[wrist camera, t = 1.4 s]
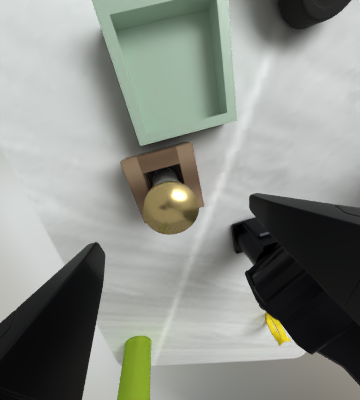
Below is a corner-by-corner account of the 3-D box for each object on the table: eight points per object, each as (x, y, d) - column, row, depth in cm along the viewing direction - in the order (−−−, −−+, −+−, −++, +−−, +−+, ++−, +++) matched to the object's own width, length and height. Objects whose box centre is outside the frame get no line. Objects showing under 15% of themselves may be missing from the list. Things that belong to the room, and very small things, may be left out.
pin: (183, 188, 22) (203, 225, 13) (154, 197, 22) (153, 240, 12) (176, 159, 20) (192, 177, 11) (144, 167, 20) (134, 193, 11)
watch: (272, 319, 41) (289, 348, 35) (262, 322, 40) (278, 351, 35) (273, 308, 38) (293, 337, 32) (263, 311, 38) (281, 341, 32)
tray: (225, 122, 19) (236, 120, 16) (142, 144, 19) (140, 146, 16) (213, 0, 15) (226, -31, 12) (103, 26, 14) (91, -1, 11)
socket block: (197, 196, 23) (204, 206, 19) (146, 211, 22) (144, 223, 19) (186, 141, 19) (192, 142, 16) (126, 157, 19) (120, 162, 16)
